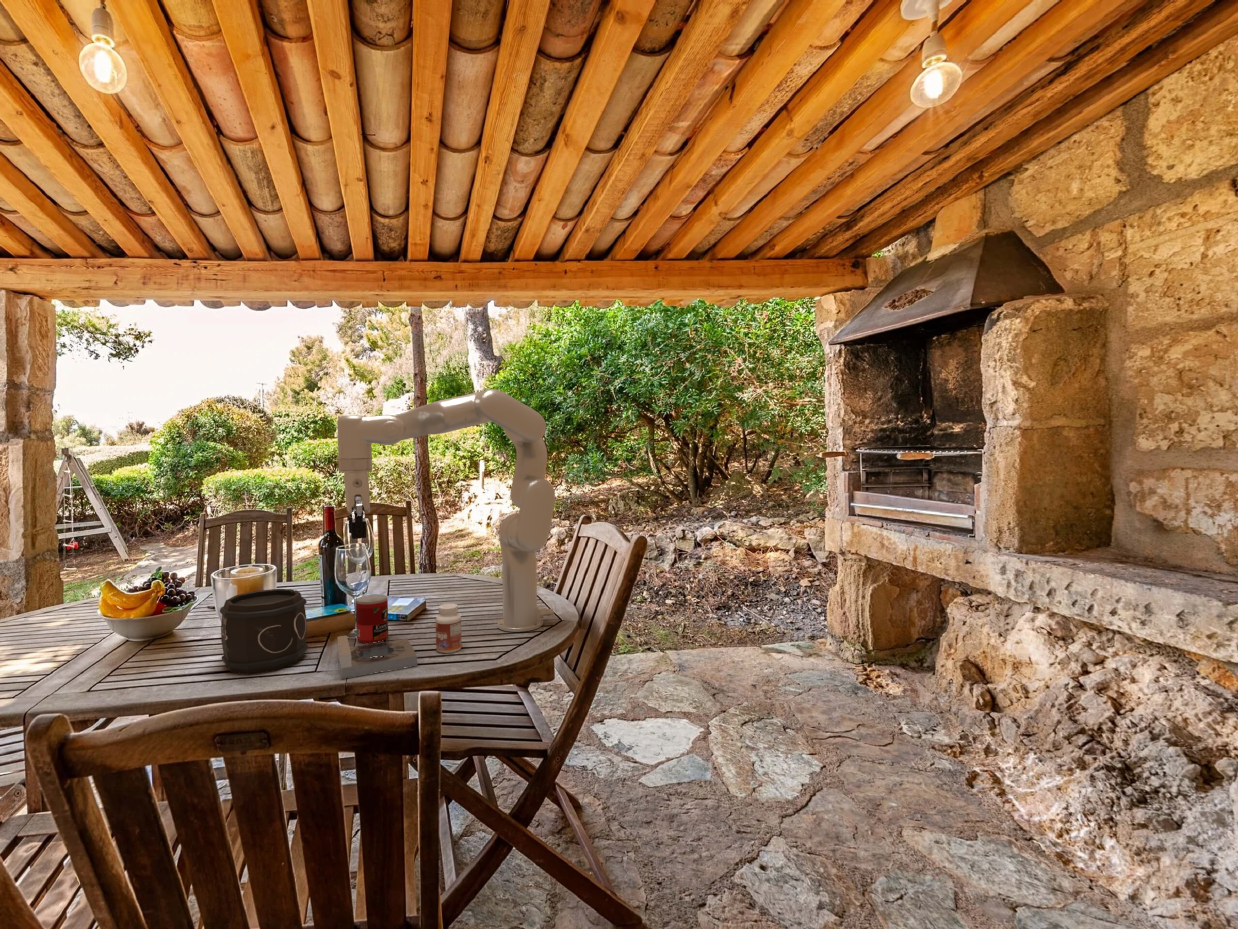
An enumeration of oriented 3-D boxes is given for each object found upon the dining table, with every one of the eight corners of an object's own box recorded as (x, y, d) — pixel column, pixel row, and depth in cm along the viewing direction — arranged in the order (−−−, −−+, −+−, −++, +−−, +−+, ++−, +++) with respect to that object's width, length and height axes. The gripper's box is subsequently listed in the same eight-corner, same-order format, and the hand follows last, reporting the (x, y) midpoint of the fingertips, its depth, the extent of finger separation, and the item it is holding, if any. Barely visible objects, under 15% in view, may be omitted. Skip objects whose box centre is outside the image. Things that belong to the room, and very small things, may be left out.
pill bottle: (431, 650, 153) (430, 606, 152) (452, 643, 158) (451, 601, 157) (445, 655, 149) (444, 610, 148) (466, 649, 154) (465, 605, 153)
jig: (407, 648, 154) (407, 626, 154) (417, 666, 142) (416, 643, 142) (338, 659, 147) (337, 636, 147) (341, 679, 135) (341, 654, 134)
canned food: (377, 644, 157) (376, 602, 157) (350, 643, 159) (349, 601, 158) (394, 635, 165) (393, 595, 164) (367, 633, 166) (366, 593, 166)
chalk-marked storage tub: (325, 650, 153) (324, 588, 152) (271, 678, 136) (269, 608, 135) (264, 646, 157) (262, 585, 156) (203, 672, 139) (200, 604, 139)
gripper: (375, 467, 144) (377, 539, 144) (368, 464, 159) (370, 529, 160) (340, 468, 140) (342, 542, 141) (336, 465, 156) (339, 532, 156)
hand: (357, 535), depth 150 cm, fingers open, 9 cm apart
